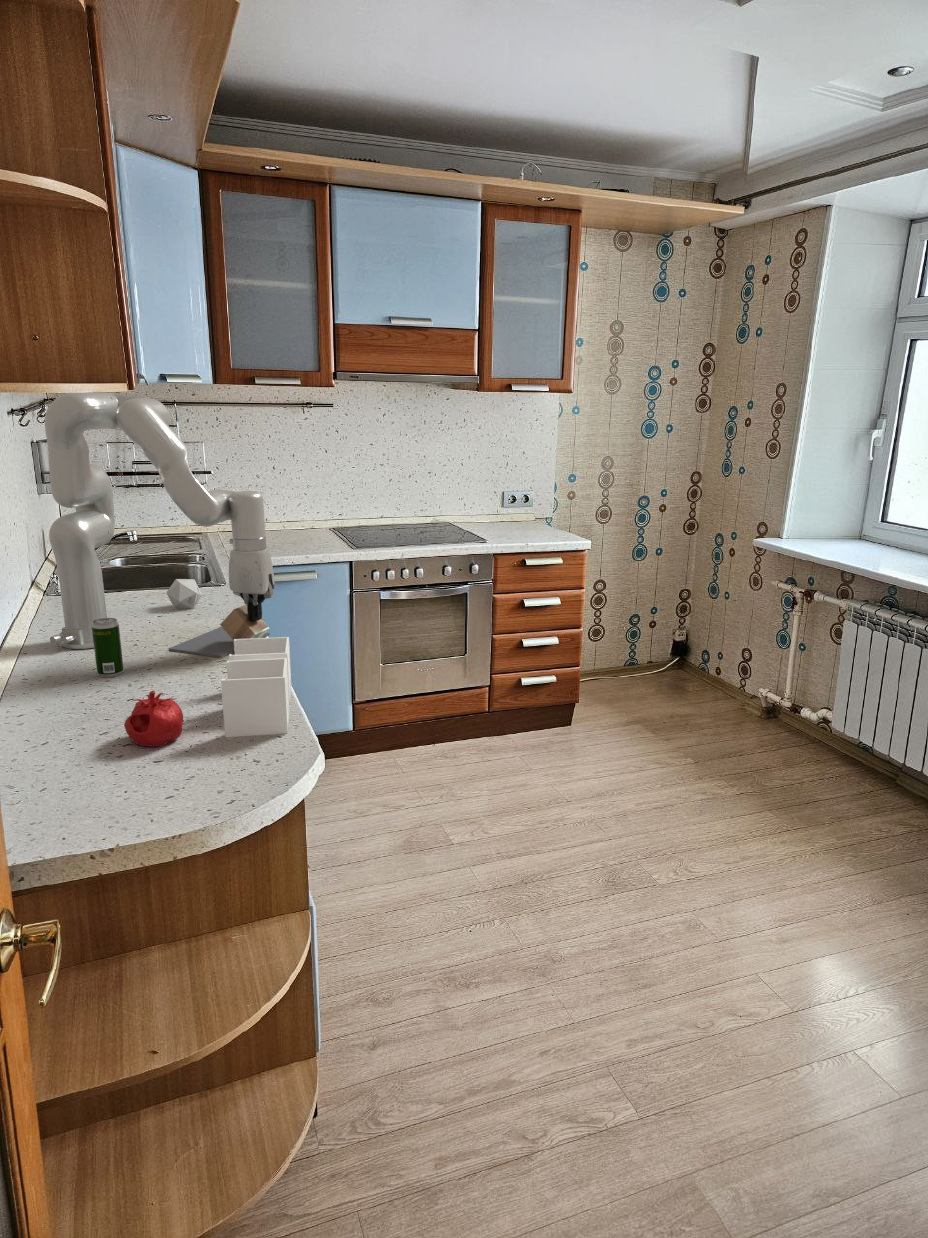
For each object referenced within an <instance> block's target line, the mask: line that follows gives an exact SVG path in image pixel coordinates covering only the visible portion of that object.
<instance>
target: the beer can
mask: <svg viewBox="0 0 928 1238" xmlns="http://www.w3.org/2000/svg"><path fill="white" fill-rule="evenodd" d="M92 624H93V625H92V635H93V643H94V648H93V650H94V656H95V658H94V659H95V667H96V668H95V669H96V673H97V674H98V676H99V677H101V678H114V677H117V676H120V675H122V674H123V672H124V660H123V659H124V658H123V652H122V642H121V634H120V632H121V631H120V624H119V622H118V618H114V617H107V618H101V619H96V620H94V621H93V622H92Z"/></svg>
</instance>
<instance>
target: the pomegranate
mask: <svg viewBox="0 0 928 1238" xmlns="http://www.w3.org/2000/svg"><path fill="white" fill-rule="evenodd" d="M162 695H165V693H164V692H160V693H158V694H157V695H156V691H155V690H151V691H150V692H149V693H148V694H146V695H145V696H146V697H147V698H145V699H141V698H137V699H134V700H133V699H131V702H133V701H134V702H135V701H136V703H135V706H134V707H133V709H132V711H131V714H130V716H128V717H127V718H126V719H125V721H124V723H123V726H124V727H123V728H124V730H125V732H126V734H127V735H128V738H129V740H131V741H132V742H134V743H135V744H137V745H139V746H143V747H162V746H165V745H166V744H168V743H171V742H174V741H176V740H178V738H180V736H181V735H182V732H183V725H184V724H183V722H184V713H183V711H182V709H181V707H180V705H179V704H178V703H177V702H176V701H175V700H177V699H178V697H176V698H173V697H169V698H160V697H161V696H162Z"/></svg>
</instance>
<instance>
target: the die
mask: <svg viewBox="0 0 928 1238" xmlns="http://www.w3.org/2000/svg"><path fill="white" fill-rule="evenodd" d="M165 593H166V595H167V597H168V599H169V601H170V603H171V605H172V606H173V608H174V609H175V610H194V609H195V607H196V605H197V604H198V603H199V601H200V600H201V598H202V597H203V594H202V592H201V589H200V588H199V586H198V584H197V582H196V580H195V579H194V578H192V579H191V578H190V579H189V578H188V579H187V578H175V579H174V581H173V583H172V584H171V585H170V587H169V588H168V590H167V591H166V592H165Z"/></svg>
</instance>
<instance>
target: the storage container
mask: <svg viewBox="0 0 928 1238" xmlns="http://www.w3.org/2000/svg"><path fill="white" fill-rule="evenodd" d="M290 650H291V649H290V637H289V636H282V637H265V638H253V639H234V652H233V653H234V654H233V653H231V654H228V660H227V661H226V668H227V669H226V672H227V673H226V674H227V679H225V678H221V680H220V686H221V687H220V688H221V699H222V711H223V714H222V715H223V726H224V737H225V738H234V737H235V738H236V737H237V738H238V737H249V736H252V737H255V736H265V735H266V736H267V735H268V736H270V735H283V734H289V733H288V732H289V723H290V721H289V720H290V705H291V696H292V695H291V694H292V676H291V675H292V674H291V672H292V671H291V652H290Z"/></svg>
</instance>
